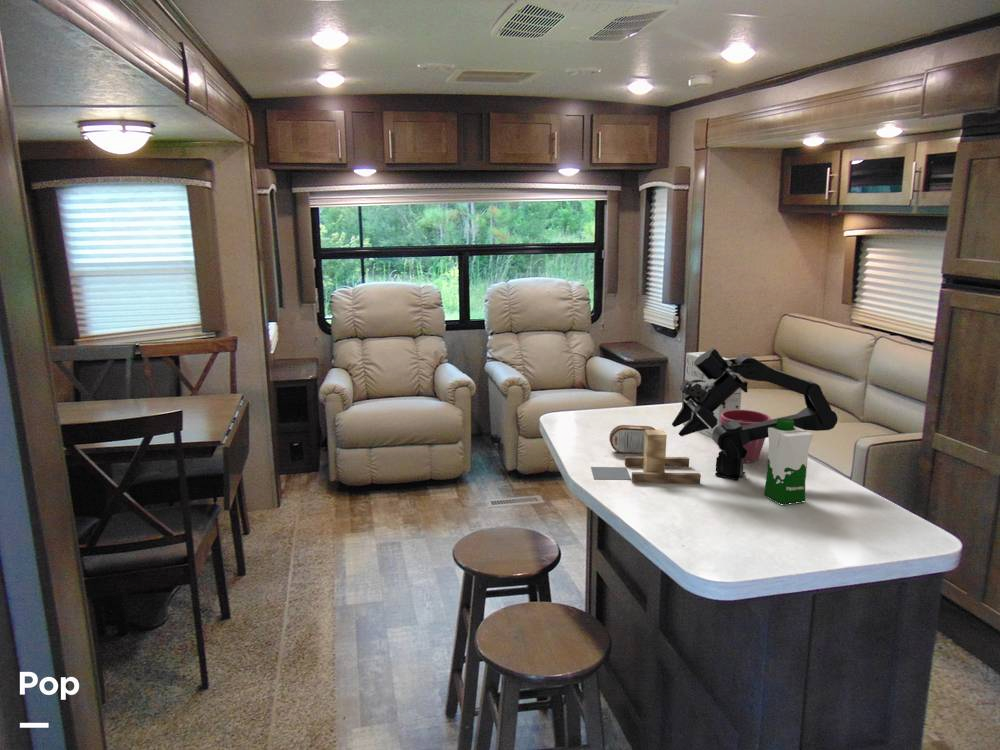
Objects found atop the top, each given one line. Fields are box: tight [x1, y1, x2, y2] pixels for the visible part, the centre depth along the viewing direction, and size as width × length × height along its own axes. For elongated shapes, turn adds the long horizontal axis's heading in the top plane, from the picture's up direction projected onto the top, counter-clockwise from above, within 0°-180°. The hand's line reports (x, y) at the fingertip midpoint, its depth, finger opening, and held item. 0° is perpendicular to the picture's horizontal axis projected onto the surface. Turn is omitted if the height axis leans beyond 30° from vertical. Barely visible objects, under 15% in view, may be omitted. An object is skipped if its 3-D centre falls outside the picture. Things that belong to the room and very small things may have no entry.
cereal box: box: [682, 351, 744, 439], centre depth 243 cm, size 22×8×25 cm, turn 17°
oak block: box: [642, 429, 668, 473], centre depth 203 cm, size 5×5×12 cm
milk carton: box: [763, 417, 815, 505], centre depth 184 cm, size 9×9×20 cm
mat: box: [590, 466, 632, 481], centre depth 204 cm, size 10×10×1 cm
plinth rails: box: [624, 455, 702, 485], centre depth 204 cm, size 18×15×2 cm
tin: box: [609, 424, 657, 455], centre depth 221 cm, size 15×3×8 cm, turn 84°
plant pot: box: [720, 409, 772, 463], centre depth 217 cm, size 14×14×13 cm
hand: (676, 430), depth 201 cm, fingers open, 9 cm apart
